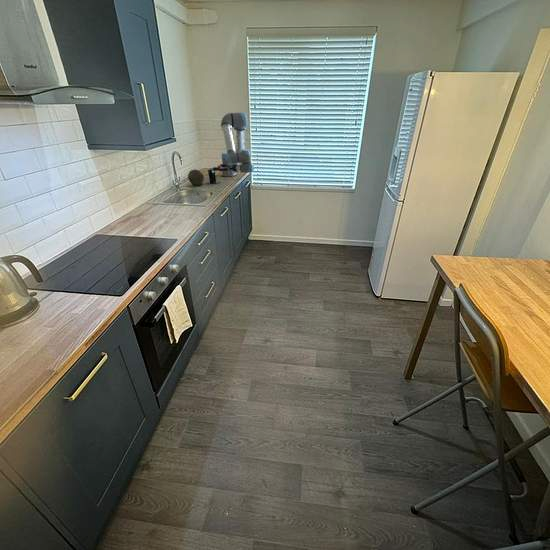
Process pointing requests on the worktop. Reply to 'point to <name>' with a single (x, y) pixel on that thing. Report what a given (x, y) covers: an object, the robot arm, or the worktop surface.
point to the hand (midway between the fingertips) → (216, 167)
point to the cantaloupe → (195, 177)
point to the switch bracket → (212, 177)
